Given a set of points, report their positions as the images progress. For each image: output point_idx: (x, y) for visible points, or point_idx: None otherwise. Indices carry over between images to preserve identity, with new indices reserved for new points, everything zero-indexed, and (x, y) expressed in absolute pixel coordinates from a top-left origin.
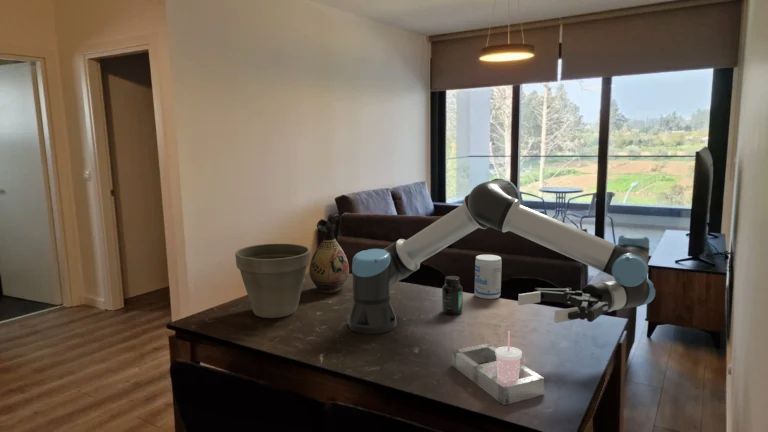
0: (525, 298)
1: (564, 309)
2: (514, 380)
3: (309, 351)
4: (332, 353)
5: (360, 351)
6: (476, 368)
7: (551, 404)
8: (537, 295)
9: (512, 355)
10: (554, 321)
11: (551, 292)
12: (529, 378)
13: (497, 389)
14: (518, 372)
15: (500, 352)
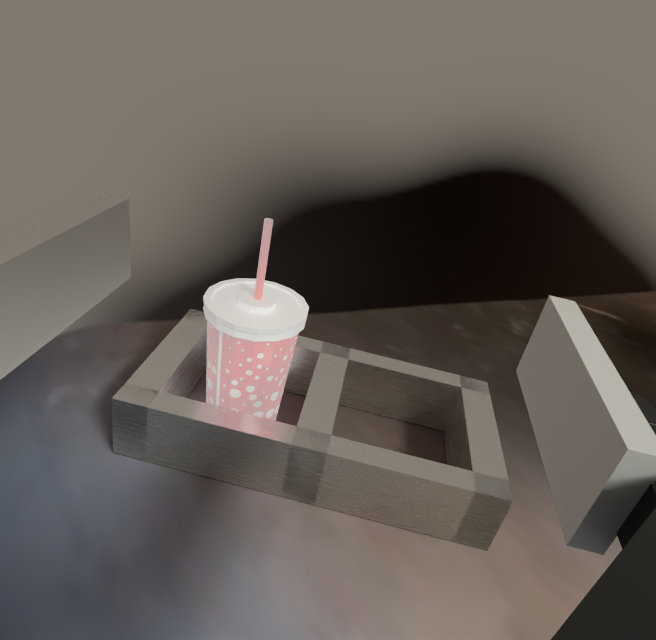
0: (547, 357)
1: (69, 224)
2: (192, 343)
3: (636, 315)
4: (619, 327)
5: (625, 356)
6: (333, 345)
7: (60, 421)
8: (594, 444)
9: (227, 293)
10: (126, 273)
11: (623, 578)
12: (159, 371)
13: None
14: (207, 364)
15: (275, 293)
